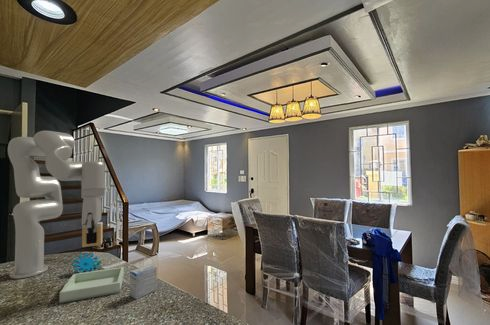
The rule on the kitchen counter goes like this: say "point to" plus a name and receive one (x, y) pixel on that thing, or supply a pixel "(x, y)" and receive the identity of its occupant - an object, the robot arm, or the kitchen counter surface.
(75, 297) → the parts tray
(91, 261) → the gear
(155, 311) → the kitchen counter surface
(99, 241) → the tan and white block
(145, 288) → the medicine box
